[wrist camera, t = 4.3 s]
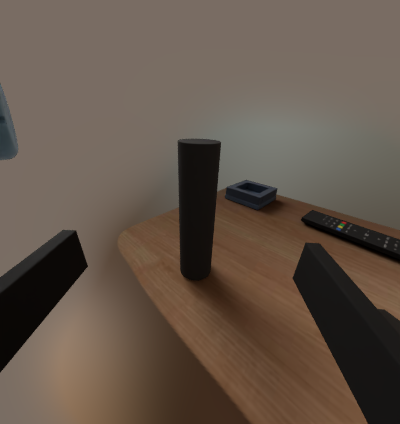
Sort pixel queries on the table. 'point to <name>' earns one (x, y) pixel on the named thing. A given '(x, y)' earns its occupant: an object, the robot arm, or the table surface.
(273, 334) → the table surface
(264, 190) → the socket pad
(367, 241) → the remote control
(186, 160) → the tall dark cylinder
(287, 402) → the table surface
